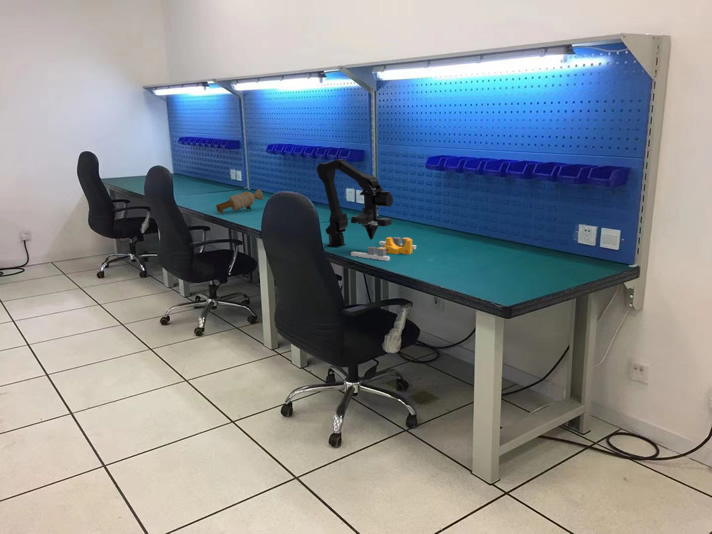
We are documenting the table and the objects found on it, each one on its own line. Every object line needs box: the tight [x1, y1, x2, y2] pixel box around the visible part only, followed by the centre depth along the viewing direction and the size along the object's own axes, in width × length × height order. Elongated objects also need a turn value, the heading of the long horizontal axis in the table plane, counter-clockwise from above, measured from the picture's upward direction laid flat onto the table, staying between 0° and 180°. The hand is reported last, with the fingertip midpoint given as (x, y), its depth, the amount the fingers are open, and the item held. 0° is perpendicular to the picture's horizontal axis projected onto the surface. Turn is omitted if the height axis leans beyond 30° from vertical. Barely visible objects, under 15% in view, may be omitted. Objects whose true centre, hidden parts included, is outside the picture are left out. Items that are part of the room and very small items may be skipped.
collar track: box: [350, 236, 417, 262], centre depth 263 cm, size 19×25×5 cm
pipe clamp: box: [383, 236, 413, 255], centre depth 261 cm, size 12×4×6 cm, turn 59°
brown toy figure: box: [215, 188, 264, 215], centre depth 380 cm, size 10×12×30 cm
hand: (371, 239), depth 266 cm, fingers closed
